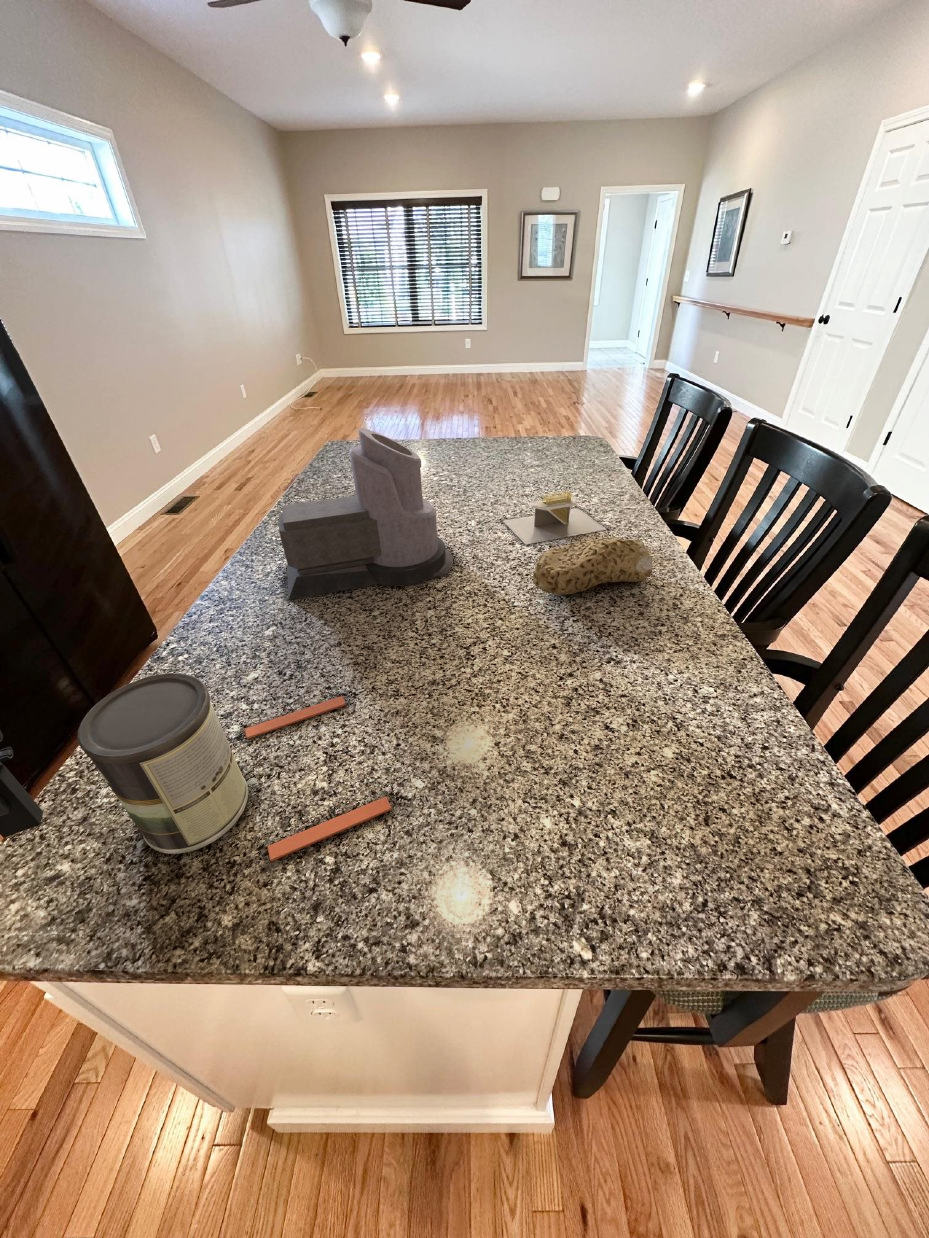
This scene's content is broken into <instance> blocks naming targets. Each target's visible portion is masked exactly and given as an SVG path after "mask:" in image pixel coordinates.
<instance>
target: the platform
mask: <svg viewBox="0 0 929 1238" xmlns="http://www.w3.org/2000/svg"><path fill="white" fill-rule="evenodd" d="M541 496H542V498H541V499H540V500H535V501H534V500H533V501H530V502H529V507H530V508H532V509H534V514H533V515H530V516H529V515H528V516H522V517H517V518H511V519H504V520H502V522H503V523H504V525H506V526H507V527H508V528H509V529H510V530H511V532H512V533H514V535H516V536H517V537H518V539H519V540H520V541H521V542H522V543H523V544H524V545H531V544H537V543H542V542H547V541H553V540H558V539H563V538H570V537H574V536H579V535H585V534H590V533H596V532H602V531H606V530H607V528H606V527H604V526H603V525H602V524H601V523H599V522H597V521H596V520H595V519H593V518H592V517H591V516H589V515H588V514H587V513H586V512H584V511H583V510H582V509H581V508H578V507H576V508H571V507H574V506H577V497H576V496H574V495H573V494H572V493H571V492H570V491H569V490H567V491H560V492H553V493H548V494H542V495H541Z"/></svg>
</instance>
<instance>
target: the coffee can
mask: <svg viewBox="0 0 929 1238" xmlns="http://www.w3.org/2000/svg"><path fill="white" fill-rule="evenodd" d="M76 737H77V743H78V745H79V747H80V748H81V750H82V751H83V752H84V754H86V756H87V757H89V759H90V760H91V761H92V763H93V765H94V766H95V767H96V769H97V770H98V772H99V773H100V775H101V777H103V779H104V781H105V783H106V784H107V785H108V786H109V788H110V789H111V791H112V792H113V793H114V795H115V796H116V798H117V799H118V801H119V802H120V804H121V805H122V808H124V810H125V811H126V813H127V814H128V816H129V818H130V819H131V820H132V822H133V823H134V824H135V826H136V827H137V830H138V831H139V832H140V834H141V835H142V837H143V840H144V842H145V843H146V844H147V845H148V846H149V847H150V848H151V849H153V850H154V851H157V852H159V853H163V854H168V855H169V854H170V855H177V854H186V853H190V852H195V851H196V850H197V851H198V850H199V849H201V848H204V847H206V846H208V845H210V844H212V843H214V842H215V841H216V840H219V839H220V838H221V837H222V836H224V835H225V834H226V833H227V832H229V830H231V829H232V828H233V827H234V826H235V824H236V823H237V822H238V820H239V819H240V817H241V816H242V814H243V813H244V811H245V808H246V806H247V803H248V800H249V787H248V783H247V781H246V779H245V777H244V776H243V774H242V771H241V769H240V767H239V765H238V762H237V760H236V758H235V755H234V753H233V750H232V747H231V746H230V743H229V740H228V739H227V736H226V734H225V732H224V729H223V727H222V724H221V722H220V719H219V717H218V715H217V713H216V710H215V708H214V706H213V703H212V701H211V696H210V692H209V690H208V687H207V686H206V684H205V683H204V681H202V680H201V679H200V678H198V677H196V676H194V675H190V674H186V673H179V672H169V673H166V672H165V673H159V674H154V675H150V676H145V677H143V678H140V679H137V680H134V681H132V682H128V683H127V684H125V685H123V686H121V687H119V688H117V689H116V690H114V691H112V692H110V693H109V694H107V695H106V696H105V697H103V698H102V699H101V700H100V701H98V702H97V703H96V704H95V705H94V706H93V707H92V708H91V709H90V710H88V712H87V713H86V714H85V716H84V717H83V718H82V721H81V722H80V724H79V727H78V730H77V736H76Z"/></svg>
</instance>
